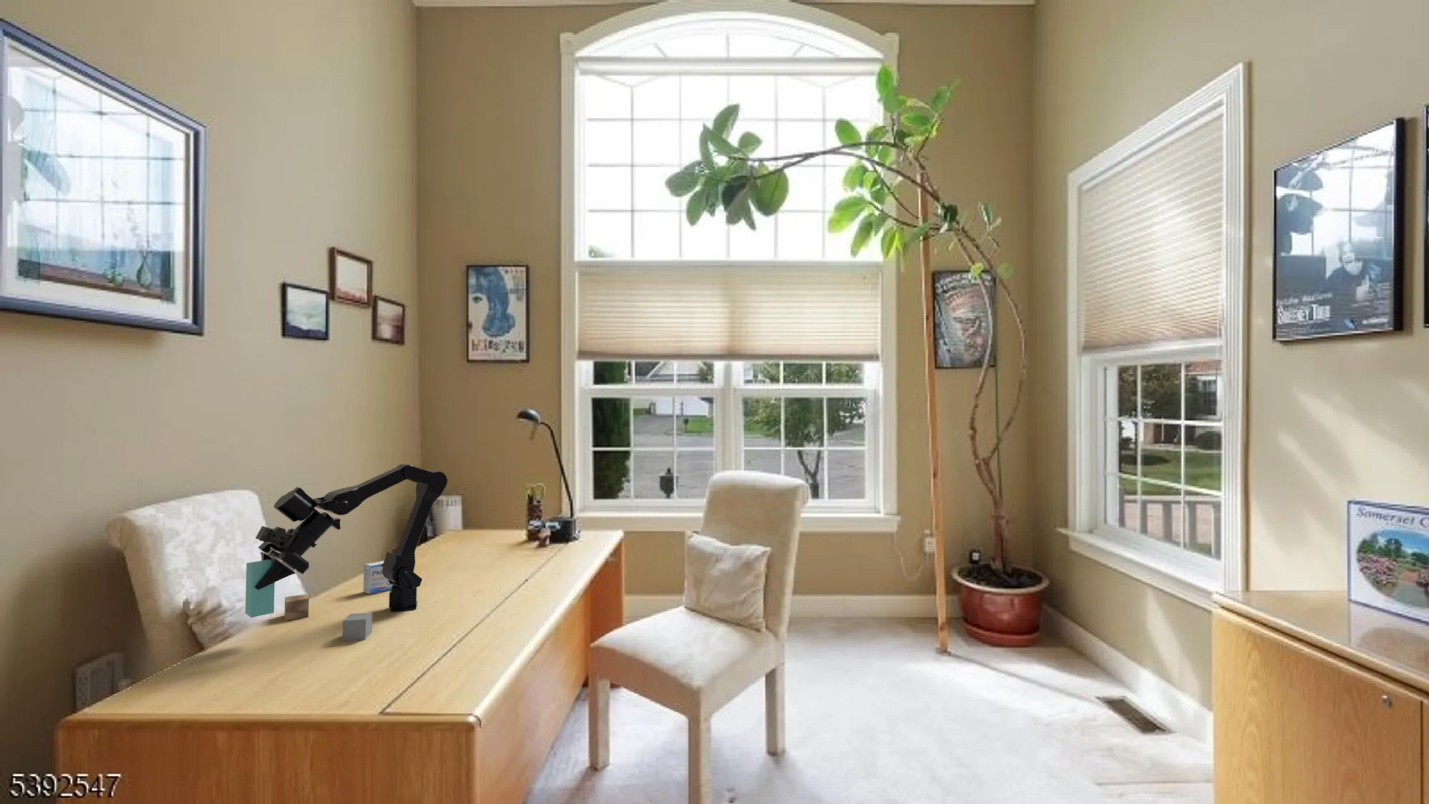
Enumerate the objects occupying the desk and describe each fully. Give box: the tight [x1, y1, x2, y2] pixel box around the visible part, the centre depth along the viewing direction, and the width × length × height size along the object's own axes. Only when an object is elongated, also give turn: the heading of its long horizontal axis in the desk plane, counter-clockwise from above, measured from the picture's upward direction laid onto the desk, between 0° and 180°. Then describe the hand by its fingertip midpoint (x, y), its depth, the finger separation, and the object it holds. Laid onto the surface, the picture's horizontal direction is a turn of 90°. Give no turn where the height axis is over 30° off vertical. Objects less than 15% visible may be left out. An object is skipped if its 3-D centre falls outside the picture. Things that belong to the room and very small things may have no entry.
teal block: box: [244, 560, 276, 618], centre depth 146 cm, size 4×4×12 cm
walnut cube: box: [284, 593, 310, 621], centre depth 164 cm, size 5×5×5 cm
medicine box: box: [363, 560, 393, 595], centre depth 187 cm, size 8×4×9 cm, turn 143°
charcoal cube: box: [342, 612, 373, 642], centre depth 150 cm, size 5×5×5 cm
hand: (253, 586), depth 144 cm, fingers closed on teal block, 4 cm apart
